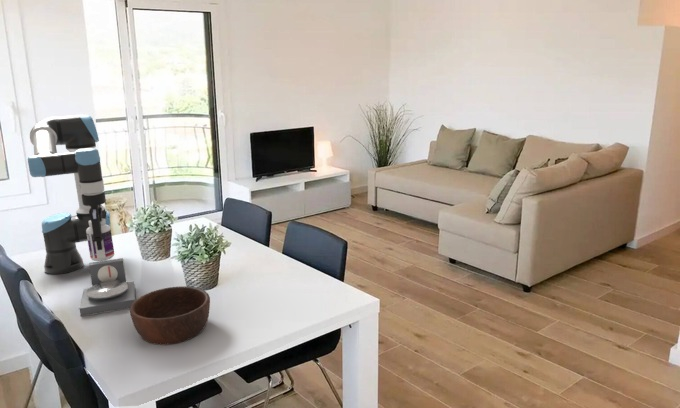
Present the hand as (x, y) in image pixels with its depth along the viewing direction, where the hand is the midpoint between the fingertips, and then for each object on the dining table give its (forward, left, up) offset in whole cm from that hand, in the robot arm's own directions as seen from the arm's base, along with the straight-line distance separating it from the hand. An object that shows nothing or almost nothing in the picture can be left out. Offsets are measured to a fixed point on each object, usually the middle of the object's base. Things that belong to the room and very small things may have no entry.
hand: (102, 253), depth 194 cm
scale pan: (0, 0, -16) cm, 16 cm away
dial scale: (-2, 0, -19) cm, 19 cm away
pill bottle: (0, 0, -2) cm, 2 cm away
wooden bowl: (+32, +21, -19) cm, 43 cm away
